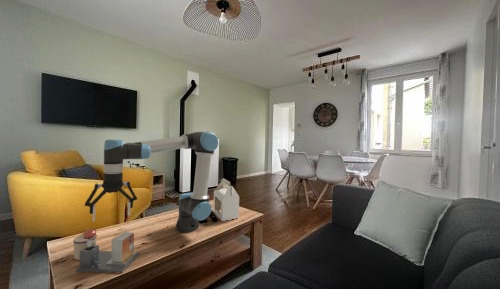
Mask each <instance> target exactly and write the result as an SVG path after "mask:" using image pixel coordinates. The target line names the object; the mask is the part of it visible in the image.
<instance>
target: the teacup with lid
mask: <svg viewBox="0 0 500 289" xmlns="http://www.w3.org/2000/svg"><path fill="white" fill-rule="evenodd" d="M92 245H97V235H96V236H95V237H93V238H92ZM86 246H87V239H84V238H83V233H81V235H77V236H76V237H75V238H74V239H73V259H74V260H76V261H77V260H78V261H80V251H81V250H82V249H84V248H85V247H86Z"/></svg>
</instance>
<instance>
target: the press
mask: <svg viewBox="0 0 500 289" xmlns="http://www.w3.org/2000/svg"><path fill="white" fill-rule="evenodd" d="M139 256H140V251H134V253H133V254H132V255H131V256H130V257H128V258H127V259H126V260H124V261H123V262H114V261H111V258H112V250H110V251H109V250H100V245H97V244H96V245H92V249H91V250H87V246H86V247H85V248H84V249H82V250H81V251H80V260H79V266H78V267H76V272H77V273H106V274H107V272H108V273H109V272H123V271H124V270H125V269H126V268H127V267H128V268H129V267H130V265H131V264H132V263H134V261H135V260H136V259H138V257H139ZM126 270H127V269H126ZM126 270H125V271H126ZM125 271H124V272H125ZM124 272H123V273H124Z"/></svg>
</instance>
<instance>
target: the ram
mask: <svg viewBox="0 0 500 289" xmlns="http://www.w3.org/2000/svg"><path fill="white" fill-rule="evenodd" d="M82 234H83V238H84V239H87V250H91V249H92V238H93V237H95V236H97V229H95V228H91V229H89V228H88V229H86V230H84V231H83V232H82Z"/></svg>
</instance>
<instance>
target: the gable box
mask: <svg viewBox="0 0 500 289" xmlns="http://www.w3.org/2000/svg"><path fill="white" fill-rule="evenodd" d="M212 208H213V209H212V210H213V211H214V212H213V213H214V214H215V216H217V217H218V219H220V220H221V222H227V221H226V220H228V221H232V219H234V220H237V219H236V218H239V215H240V213H239V212H240V195H239V194H238V193H237V191H236V189H235V188H234V186H232V183H231V181H229V180H227V179H226V178H222V179H220V182H219V183H218V184H217V186H216V188H215V189H214V190H213V207H212ZM219 210H221V213H220V212H219Z"/></svg>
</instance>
